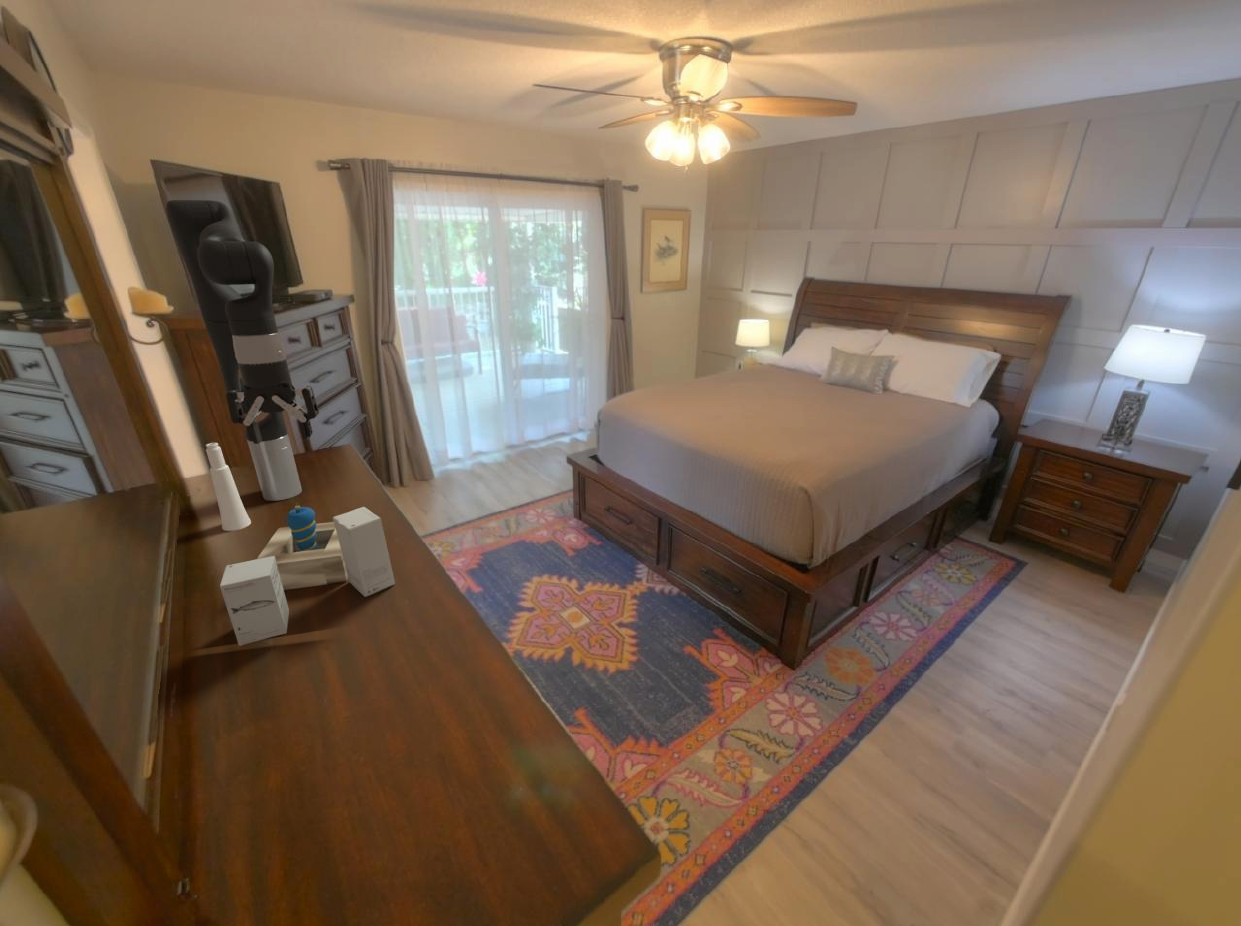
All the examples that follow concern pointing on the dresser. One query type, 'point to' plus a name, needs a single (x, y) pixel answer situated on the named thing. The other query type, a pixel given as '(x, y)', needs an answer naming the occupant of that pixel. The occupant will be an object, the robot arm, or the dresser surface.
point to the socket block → (307, 558)
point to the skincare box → (364, 550)
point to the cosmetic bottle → (226, 491)
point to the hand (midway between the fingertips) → (282, 440)
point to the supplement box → (255, 599)
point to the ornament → (303, 527)
